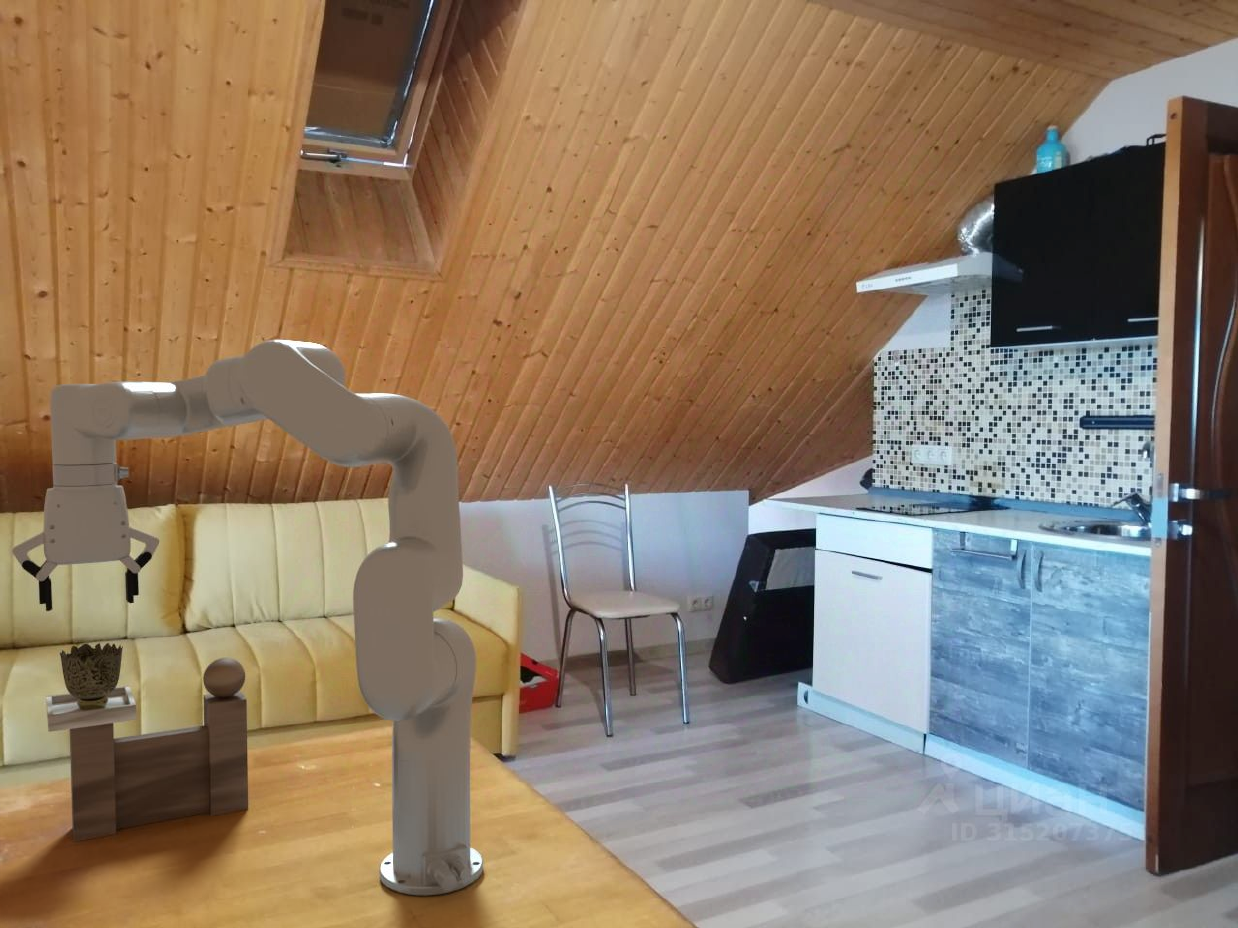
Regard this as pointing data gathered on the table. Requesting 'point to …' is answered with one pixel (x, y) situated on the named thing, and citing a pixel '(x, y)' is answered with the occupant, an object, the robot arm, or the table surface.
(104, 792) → the headboard
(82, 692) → the cup
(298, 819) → the table surface
